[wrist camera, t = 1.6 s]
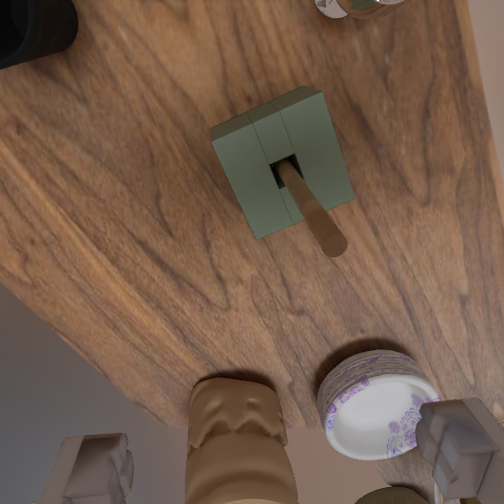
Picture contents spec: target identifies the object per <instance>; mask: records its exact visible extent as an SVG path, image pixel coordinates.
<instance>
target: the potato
mask: <svg viewBox="0 0 504 504" xmlns="http://www.w3.org/2000/svg"><path fill="white" fill-rule="evenodd" d="M476 498H477V497H472V498H460V503H461V504H481V503H480V502H479V501H478V500H477V499H476Z"/></svg>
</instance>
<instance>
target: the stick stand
mask: <svg viewBox="0 0 504 504" xmlns="http://www.w3.org/2000/svg"><path fill="white" fill-rule="evenodd" d="M211 144H212V146H213V148H214V150H215V153H216V155H217V157H218V159H219V161H220V163H221V165H222V168H223V170H224V172H225V174H226V176H227V178H228V180H229V183H230V185H231V187H232V189H233V191H234V193H235V196H236V198H237V200H238V202H239V204H240V206H241V208H242V211H243V213H244V215H245V217H246V219H247V221H248V223H249V226H250V228H251V230H252V232H253V234H254V236H255V238H256V240H258V239H260V238H262V237H265V236H267V235H269V234H272V233H274V232H277V231H279V230H281V229H284V228H286V227H288V226H291V225H293V224H296V223H298V222H301V221H303V220H305V219H304V217H303V215H302V214H301V212H300V210H299V208H298V207H297V205H296V203H295V201H294V200H293V198H292V196H291V194H290V193H289V191H288V189H287V187H286V186H285V184H284V182H283V180H282V179H281V177H280V175H279V173H278V172H277V170H276V168H275V167H272V168H270V165H269V164H272V163H274V162H276V161H279V160H281V159H283V158H285V157H288V156H289V158H290V160H289V161H290V163H291V164H292V166H293V167H294V168H295V170H296V171H297V172H298V174H299V175H300V176H301V178H302V179H303V181H304V182H305V183H306V185H307V186H308V187H309V189H310V190H311V191H312V193H313V194H314V195H315V197H316V198H317V200H318V201H319V202H320V204H321V205H322V206H323V208H324V209H325V210H329V209H331V208H334V207H336V206H338V205H341V204H343V203H345V202H348V201H350V200H353V199H355V195H354V191H353V188H352V185H351V182H350V178H349V175H348V172H347V169H346V165H345V162H344V159H343V156H342V152H341V149H340V146H339V143H338V139H337V136H336V133H335V130H334V126H333V123H332V120H331V117H330V113H329V110H328V107H327V104H326V100H325V97H324V94H323V91H320V90H317V89H314V88H311V87H308V86H305V85H304V86H302V87H299V88H297V89H295V90H293V91H291V92H289V93H286V94H284V95H282V96H280V97H278V98H276V99H273V100H271V101H269V102H267V103H265V104H262V105H260V106H258V107H256V108H254V109H252V110H249V111H247V112H246V113H243V114H241V115H239V116H236V117H234V118H232V119H230V120H228V121H226V122H223V123H221V124H219V125H217V126H215V127H212V128H211Z"/></svg>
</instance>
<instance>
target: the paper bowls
mask: <svg viewBox="0 0 504 504" xmlns="http://www.w3.org/2000/svg"><path fill="white" fill-rule="evenodd" d="M437 401H441V400H440V397H439V394H438V392H437V391H436V389H435V387H434V386H433V384H432V383H431V382H430V380H429V379H428V377H427V376H426V374H425V373H424V372H423V370H422V368H421V367H420V366H419V365H418V363H417V362H416V361H415V360H413V359H412V358H411V357H409V356H407V355H405V354H403V353H399V352H396V351H391V350H374V351H367V352H362V353H358V354H355V355H353V356H351V357H349V358H347V359H345V360H344V361H342V362H341V363H340V364H339V365H338V366H337V367H336V368H334V369H333V370H332V371H331V372H330V373H329V374H328V375H327V376H326V378H325V379H324V381H323V382H322V384H321V386H320V389H319V392H318V395H317V408H318V412H319V415H320V419H321V423H322V426H323V429H324V433H325V436H326V438H327V440H328V442H329V443H330V444H331V445H332V447H333V448H335V449H336V450H337V451H338V452H340V453H342V454H343V455H346V456H348V457H351V458H355V459H360V460H380V459H386V458H390V457H394V456H397V455H400V454H402V453H405V452H407V451H409V450H411V449H412V448H414V447H416V446H417V443H416V436H415V429H416V424H417V423H418V422H419V421H420V420H421V419H422V417H421V415H420V413H419V411H420V407H421V405H422V404H423V403H428V402H437Z"/></svg>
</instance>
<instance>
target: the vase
mask: <svg viewBox="0 0 504 504" xmlns="http://www.w3.org/2000/svg"><path fill="white" fill-rule="evenodd" d="M355 504H429V503H428V502H427V501H426V500H425V499H424V498H422V497H421V496H420V495H419V494H418V493H417V492H415V491H413V490H411V489H408V488H404V487H387V488H382V489H378V490H375V491H373V492H370V493H368V494H367V495H365V496H363V497H362V498H360V499H359V500H358V501H357V502H356V503H355Z"/></svg>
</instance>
